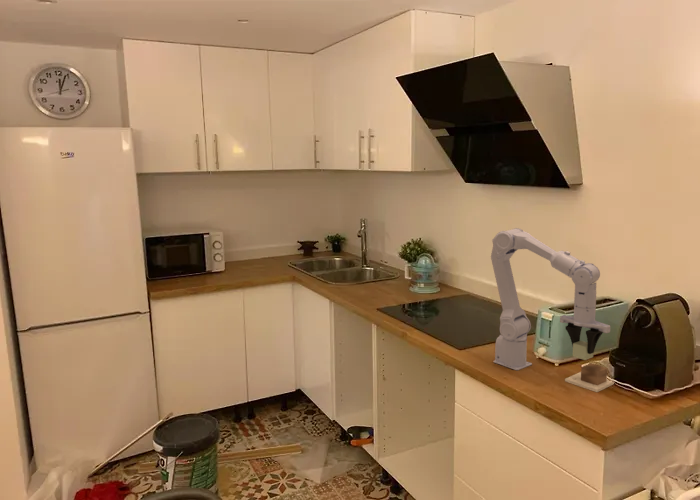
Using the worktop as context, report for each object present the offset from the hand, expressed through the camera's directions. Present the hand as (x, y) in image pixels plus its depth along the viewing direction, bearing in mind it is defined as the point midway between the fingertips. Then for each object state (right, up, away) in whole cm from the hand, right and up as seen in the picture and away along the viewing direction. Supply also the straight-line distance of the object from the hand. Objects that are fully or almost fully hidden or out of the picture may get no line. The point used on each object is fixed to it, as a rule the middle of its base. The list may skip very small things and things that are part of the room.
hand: (583, 350), depth 155 cm
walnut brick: (+3, -9, 0) cm, 9 cm away
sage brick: (0, -2, 0) cm, 2 cm away
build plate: (+2, -9, +1) cm, 10 cm away
